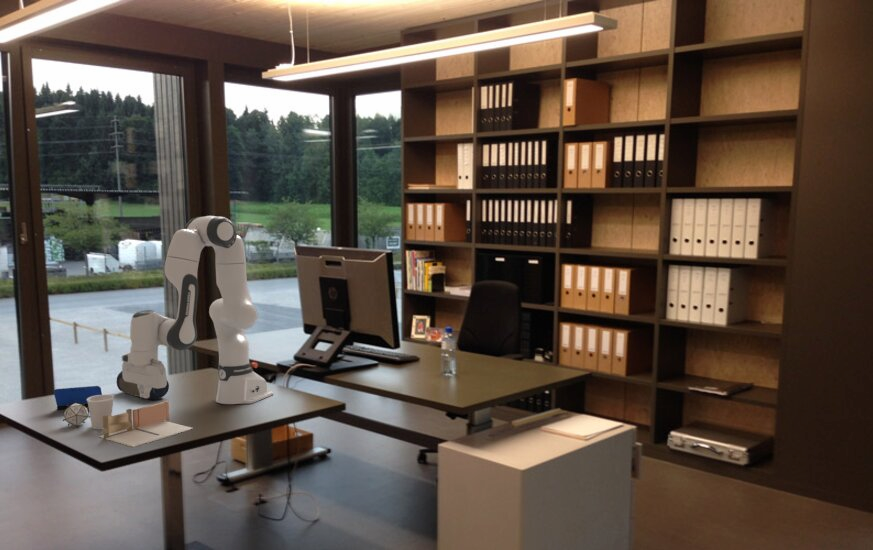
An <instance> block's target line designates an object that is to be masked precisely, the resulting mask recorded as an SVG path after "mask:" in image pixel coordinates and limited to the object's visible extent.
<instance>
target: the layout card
mask: <svg viewBox="0 0 873 550" xmlns="http://www.w3.org/2000/svg"><path fill="white" fill-rule="evenodd" d="M193 428H194V427H191V426H186V425H181V424H179V423H174V422H171V421H168V420H163V421H160V422H156V423H153V424H149V425H146V426H142V427H138V428H133V426H132V431H127V429H125V430H121V431H118V432H114V433H111V434H109V437H108V438H106V439H105V440H108V441H110V440H111V442H115V443H117V444H120V443H121V445H124V446H128V447H131V448H136V447H140V446H143V445H146V444H149V443H152V441H153V442H155V441H159V440H162V439H165V438H168V437H172V436H175V435H179V434H182V433H185V432H188V431H191V429H192V430H193ZM181 432H182V433H181ZM178 433H179V434H178ZM100 437H101V439H104V436H103V434H102V435H99V438H100ZM145 443H146V444H145ZM139 445H140V446H139Z"/></svg>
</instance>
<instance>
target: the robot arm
mask: <svg viewBox="0 0 873 550" xmlns="http://www.w3.org/2000/svg"><path fill="white" fill-rule="evenodd" d="M205 247H212V248H213V250H214V254H215V257H214V258H215V279H216V280H215V281H216V286H217V288H218V289H219V293H220V295H221V298H218V299H215V300H214V301H213V302H212V303H211V304H210V306H209V311H208V313H209V317H210V318H211V320H212V322H213V327H214V331H215V335H216V339H217V344H218V364H217V374H218V387H217V392H216V398H215V402H216V403H218V404H222V405H239V404H240V405H241V404H254V403H256V402H258V401H261V400H263V399H266V398H268V397H270V396H273V395H274V392H273V391H272V390H270V389H268V385H267V381H266V379H265V378H264V377H262V376H261V375H259V374H258V373H256V372H255V371H254V369H257V368H258V363H257V362H254V361H252V362H250V351H249V350H250V349H249V348H250V347H249V341H248V339H247V338H246V337H247V336H246V335H245V332H244V330H248V329H251V328H252V327H253V326H254V325H256V323H257V322H258V321H257V320H258V312H257V309H256V307H255V305H254V304H253V302H252V298H251V294H250V291H249V286H248V279H247V261H246V260H247V259H246V251H245V246H244V241H243V239H242V237H241V236H240V235H238V234H237V231H236V228H235V225H234V224H233V222H232V221H231V220H230V219H229V218H227V217H225V216H220V215H218V216H215V215H206V216H205V215H204V216H197V217H193V218H191V219H190V220H188V222H187V223H186V225H185V227H183V228H182V229H178V230H177V231H175V233H174V234H173V236H172V238H171V240H170V244H169V246H168V250H167V254H166V258H165V263H164V275H165V277H166V278H167V280H168V281H169V282H170V283H171V284H172V285H174V287H175V288H176V289H177V293H178V303H177V305H178V306H177V313H176V319H175V318H171V317H167V316H164V315H162V314H159V313H157V312H156V311H155V310H153V309H147V310H145V309H144V310H139V311H137V312H135V313H133V315H132V316H131V321H130V330H129V331H130V333H129V335H130V336H129V338H130V341H131V346H130V349H129V350H130V352H129V353H126V354H123V355H121V361H122V364H121V365H122V366H121V367H122V368H121V371H122V376H123V379H124V381H126V382H131V383H135V384H137V387H138V389H139V392H140V397H139V398H143V399H147V398H149V397H150V391H151V389H152V387H153V388H157V389H159V388H164V387H166V385H167V381H168V380H167V377H168V376H167V370H166V367H165V365H164V364H163V362H162V361H161V360H159V346H160V345H161V346H162V345H163V346H166V347H170V348H172V349H175V350H177V351H187V350H188V349H191V347H192V346H193V345H195V343H196V341H197V338H198V330H197V318H196V317H197V311H198V310H197V309H198V308H197V307H198V299H199V280H198V270H199V269H198V268H199V263H200V258H201V253H202V250H203V249H204V248H205ZM253 368H254V369H253Z"/></svg>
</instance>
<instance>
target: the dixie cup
mask: <svg viewBox="0 0 873 550" xmlns="http://www.w3.org/2000/svg"><path fill="white" fill-rule="evenodd" d="M114 398H115V397H114V395H112V394H102V395H96V396H92V397H89V398H87V401H88V407H89V410H88V411H89V412H88V413H89V416H90V418H89V419H90V423H91V429H93V428H94V429H93V430H103V429H102V428H103V416H104V415H108V417H111V416H113V405H114Z"/></svg>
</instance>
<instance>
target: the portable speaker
mask: <svg viewBox="0 0 873 550" xmlns="http://www.w3.org/2000/svg"><path fill="white" fill-rule="evenodd" d="M116 387H117V388H118V390H119V391H120V392H122V393H124V394H128V395H131V394H132V396H135V395H136V396H137V397H139V398H141V397H140V392H139V389H138V387H137V384H135V383H131V382H126V381H124V379H123V376H122V370H121V371H120V372H119V373H118V375H117V377H116ZM169 388H170V385H169V381H168V380H167V385H166V387H164V388H159V389H157V388H153V387H152V389H151V391H150V397H149V398H146V399H148V400H151V399H154V400H153V401H155V399H156V400H159V399H161V398H163V397H165V396H166V394H167V393H168V392H169ZM136 396H135V397H136Z"/></svg>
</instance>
